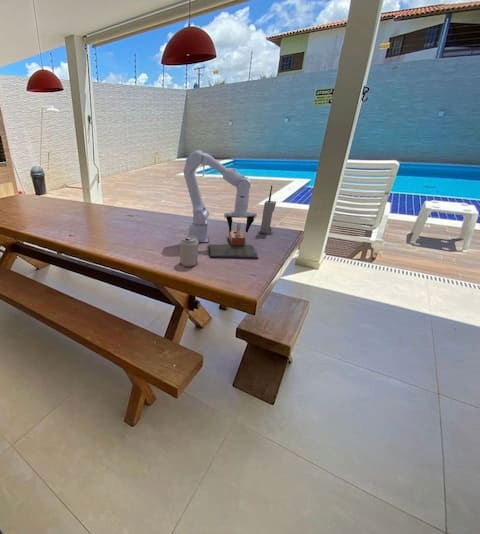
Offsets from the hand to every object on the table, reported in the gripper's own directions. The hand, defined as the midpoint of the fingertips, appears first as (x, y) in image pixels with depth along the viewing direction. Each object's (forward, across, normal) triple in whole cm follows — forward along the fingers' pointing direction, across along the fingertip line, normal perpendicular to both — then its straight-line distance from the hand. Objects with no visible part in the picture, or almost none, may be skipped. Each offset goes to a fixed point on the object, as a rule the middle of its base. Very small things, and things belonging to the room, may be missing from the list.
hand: (238, 231), depth 151 cm
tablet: (+6, -4, -12) cm, 14 cm away
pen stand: (+6, 0, +2) cm, 6 cm away
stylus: (+6, 0, 0) cm, 6 cm away
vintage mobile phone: (+6, +17, +16) cm, 24 cm away
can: (+6, -24, -26) cm, 36 cm away
